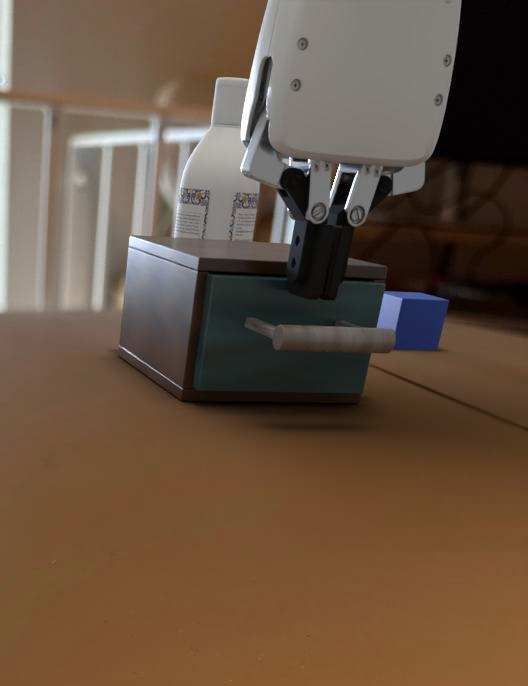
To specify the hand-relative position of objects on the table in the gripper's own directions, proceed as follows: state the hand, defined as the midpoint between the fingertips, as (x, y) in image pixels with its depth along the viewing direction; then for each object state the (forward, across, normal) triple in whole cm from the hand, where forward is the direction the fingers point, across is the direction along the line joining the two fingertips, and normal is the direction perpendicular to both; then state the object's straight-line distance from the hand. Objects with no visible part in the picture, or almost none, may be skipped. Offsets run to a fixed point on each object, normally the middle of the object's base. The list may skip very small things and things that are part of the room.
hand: (311, 296), depth 57 cm
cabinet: (+7, 0, -10) cm, 13 cm away
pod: (+7, -22, -24) cm, 34 cm away
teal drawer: (+6, 0, -6) cm, 8 cm away
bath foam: (+7, -6, -32) cm, 34 cm away
